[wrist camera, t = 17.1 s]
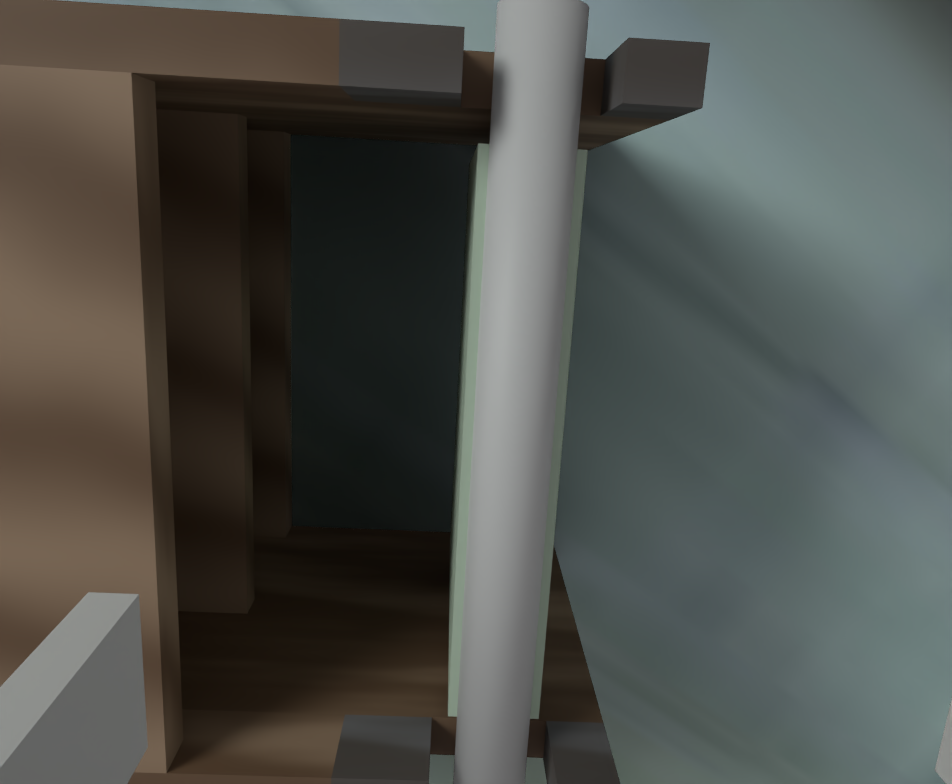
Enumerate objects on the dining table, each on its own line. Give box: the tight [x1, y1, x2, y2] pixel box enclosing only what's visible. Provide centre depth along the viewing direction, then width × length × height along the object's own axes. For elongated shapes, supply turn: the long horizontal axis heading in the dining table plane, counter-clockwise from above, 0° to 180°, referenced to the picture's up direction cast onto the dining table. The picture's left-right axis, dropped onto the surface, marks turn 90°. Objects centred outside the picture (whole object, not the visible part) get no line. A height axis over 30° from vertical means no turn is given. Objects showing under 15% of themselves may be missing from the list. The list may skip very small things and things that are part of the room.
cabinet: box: [0, 0, 710, 784], centre depth 30 cm, size 23×22×18 cm
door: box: [448, 0, 589, 784], centre depth 29 cm, size 25×4×14 cm, turn 177°
